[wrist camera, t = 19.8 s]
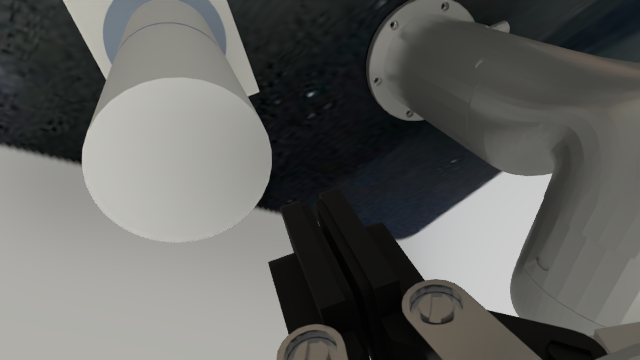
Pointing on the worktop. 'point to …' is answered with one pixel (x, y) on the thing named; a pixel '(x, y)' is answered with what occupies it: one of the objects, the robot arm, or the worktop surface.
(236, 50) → the white flat plate
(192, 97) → the cylindrical container
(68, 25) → the worktop surface
